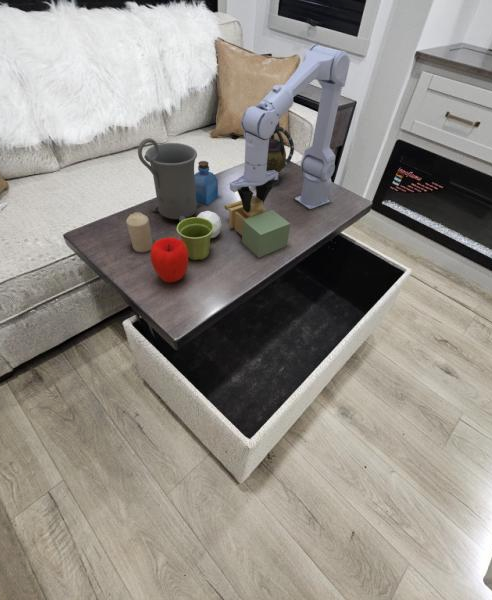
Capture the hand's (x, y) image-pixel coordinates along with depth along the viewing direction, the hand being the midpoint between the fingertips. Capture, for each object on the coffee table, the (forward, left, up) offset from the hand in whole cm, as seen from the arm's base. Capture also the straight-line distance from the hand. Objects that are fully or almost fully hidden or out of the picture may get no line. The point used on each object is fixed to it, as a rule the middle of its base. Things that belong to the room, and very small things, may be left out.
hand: (252, 208), depth 95 cm
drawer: (0, -4, -8) cm, 9 cm away
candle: (+29, -11, -9) cm, 32 cm away
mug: (+15, -19, -9) cm, 26 cm away
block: (0, 0, -1) cm, 1 cm away
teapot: (-21, -23, -9) cm, 33 cm away
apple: (+28, +5, -9) cm, 30 cm away
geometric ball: (+11, -6, -9) cm, 15 cm away
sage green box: (0, +6, -8) cm, 11 cm away
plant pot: (+18, 0, -9) cm, 20 cm away
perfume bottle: (+2, -25, -9) cm, 26 cm away
